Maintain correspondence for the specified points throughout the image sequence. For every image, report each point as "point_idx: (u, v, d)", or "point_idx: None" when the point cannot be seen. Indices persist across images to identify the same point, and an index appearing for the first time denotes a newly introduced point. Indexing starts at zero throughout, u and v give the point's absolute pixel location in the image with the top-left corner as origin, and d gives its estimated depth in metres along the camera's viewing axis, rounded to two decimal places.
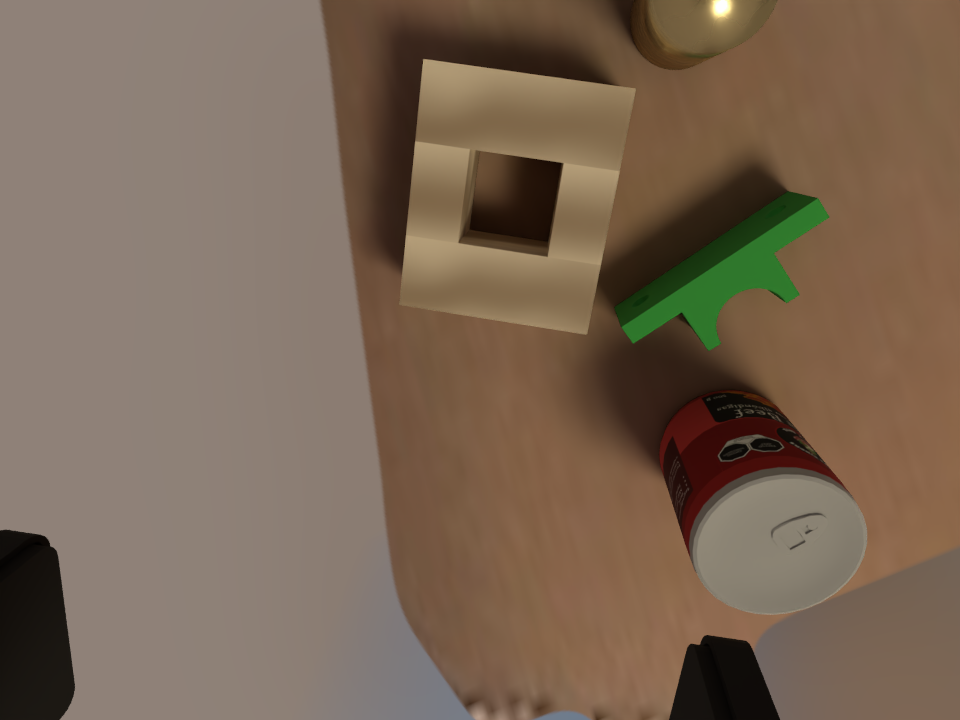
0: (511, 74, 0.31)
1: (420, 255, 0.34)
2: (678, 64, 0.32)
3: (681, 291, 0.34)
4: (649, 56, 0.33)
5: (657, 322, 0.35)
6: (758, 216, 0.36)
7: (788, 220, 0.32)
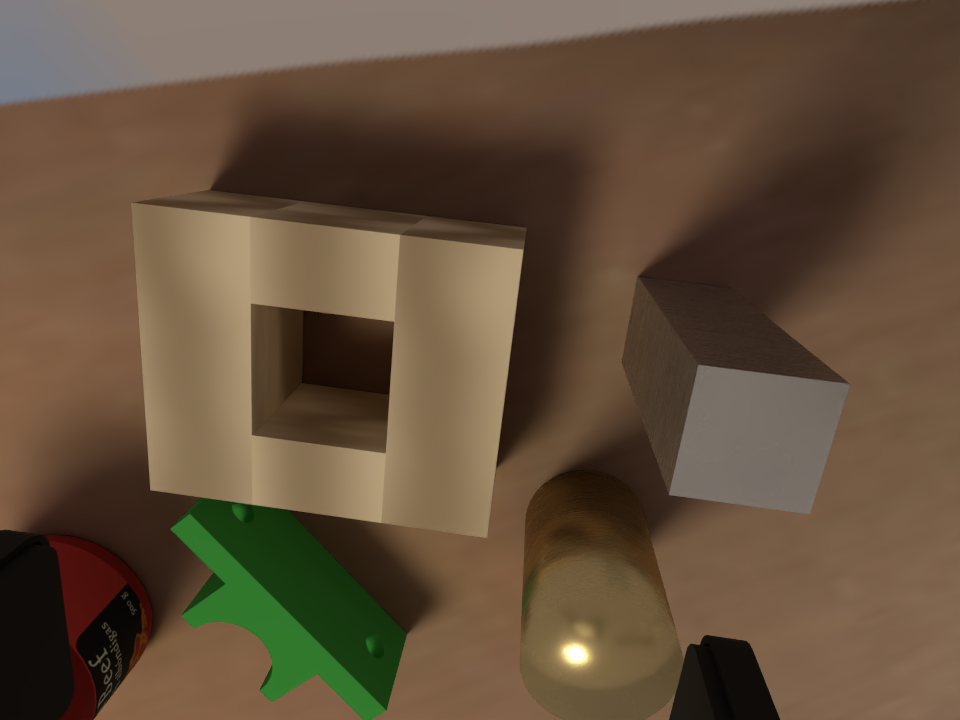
0: (502, 381, 0.21)
1: (221, 241, 0.20)
2: (524, 553, 0.26)
3: (252, 581, 0.25)
4: (537, 506, 0.27)
5: (205, 556, 0.25)
6: (372, 618, 0.29)
7: (357, 684, 0.26)
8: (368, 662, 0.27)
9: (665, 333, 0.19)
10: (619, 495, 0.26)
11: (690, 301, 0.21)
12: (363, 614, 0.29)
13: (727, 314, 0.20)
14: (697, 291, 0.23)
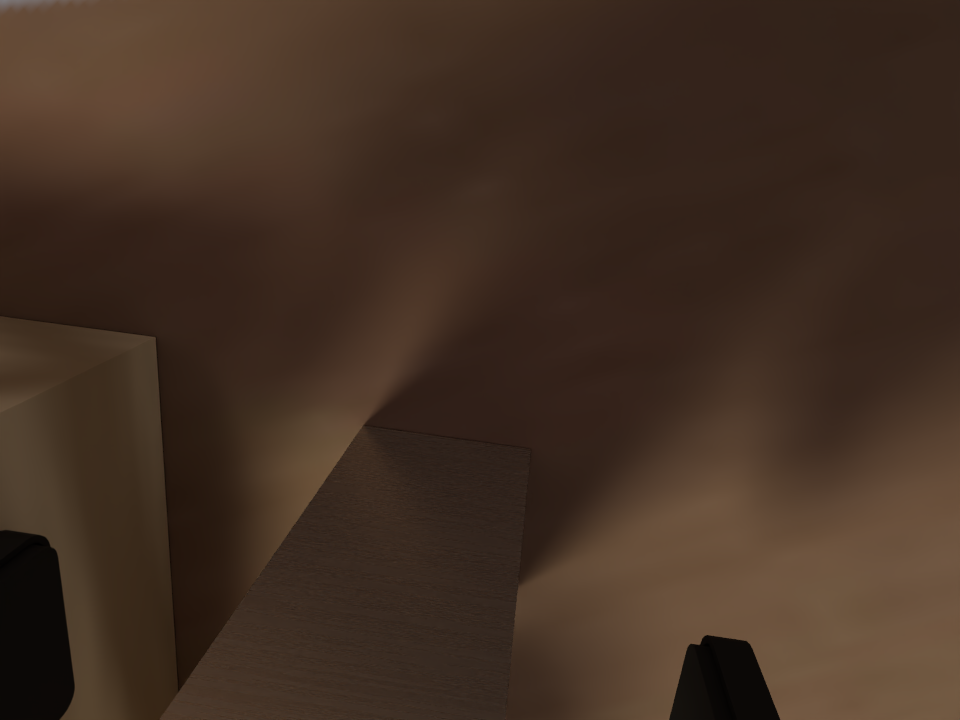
0: None
1: None
2: None
3: None
4: None
5: None
6: None
7: None
8: None
9: None
10: None
11: (383, 522, 0.10)
12: None
13: (422, 581, 0.09)
14: (443, 472, 0.12)
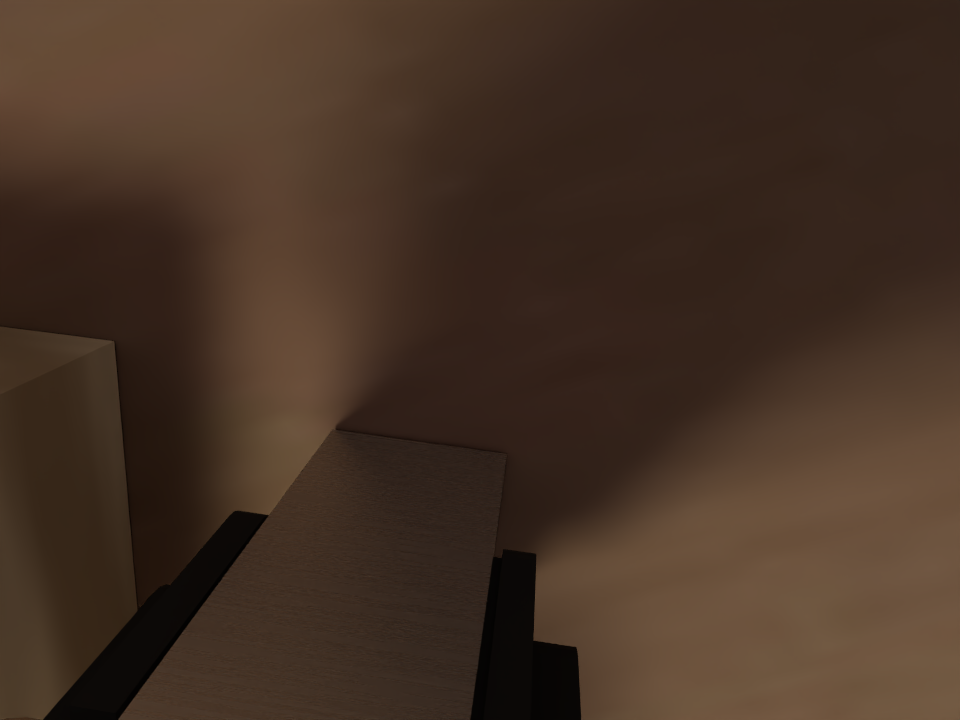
0: None
1: None
2: None
3: None
4: None
5: None
6: None
7: None
8: None
9: None
10: None
11: (347, 535, 0.10)
12: None
13: (384, 600, 0.08)
14: (414, 479, 0.11)
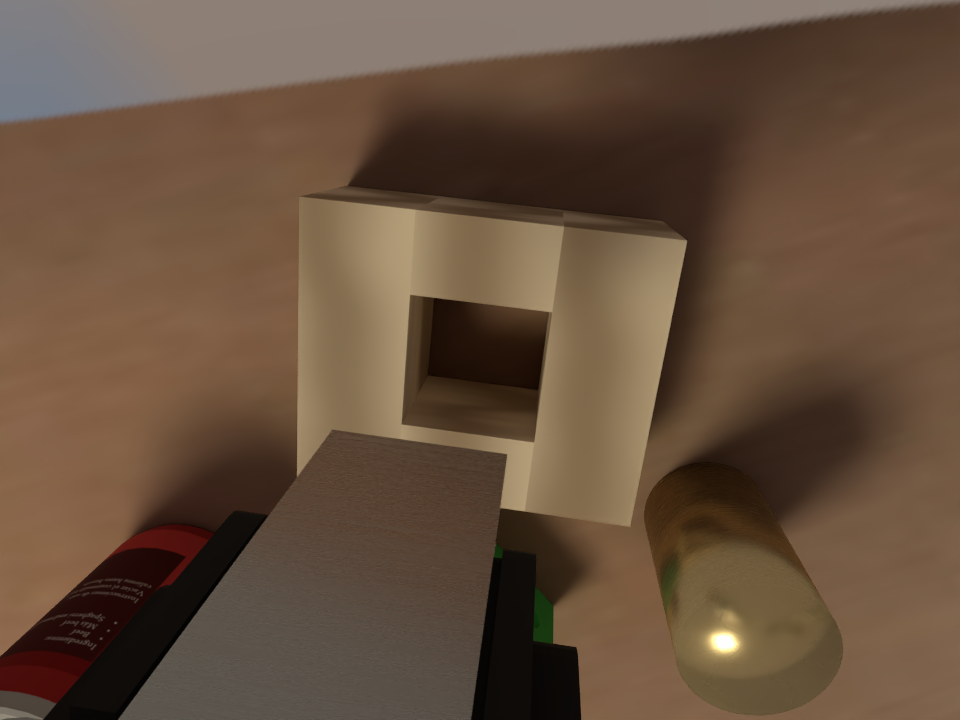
0: (656, 370, 0.21)
1: (385, 234, 0.21)
2: (653, 544, 0.26)
3: None
4: (663, 497, 0.27)
5: None
6: None
7: None
8: None
9: None
10: (747, 487, 0.26)
11: (346, 535, 0.10)
12: None
13: (384, 601, 0.08)
14: (414, 480, 0.11)
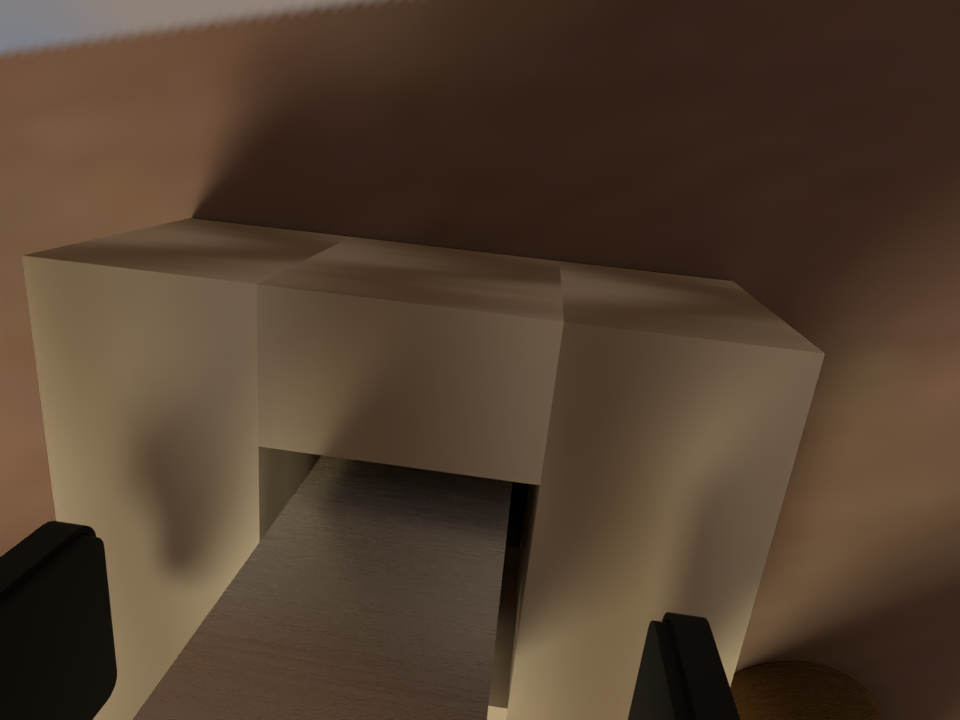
0: (746, 596, 0.11)
1: (200, 330, 0.10)
2: None
3: None
4: None
5: None
6: None
7: None
8: None
9: None
10: (868, 719, 0.16)
11: None
12: None
13: (436, 483, 0.11)
14: None
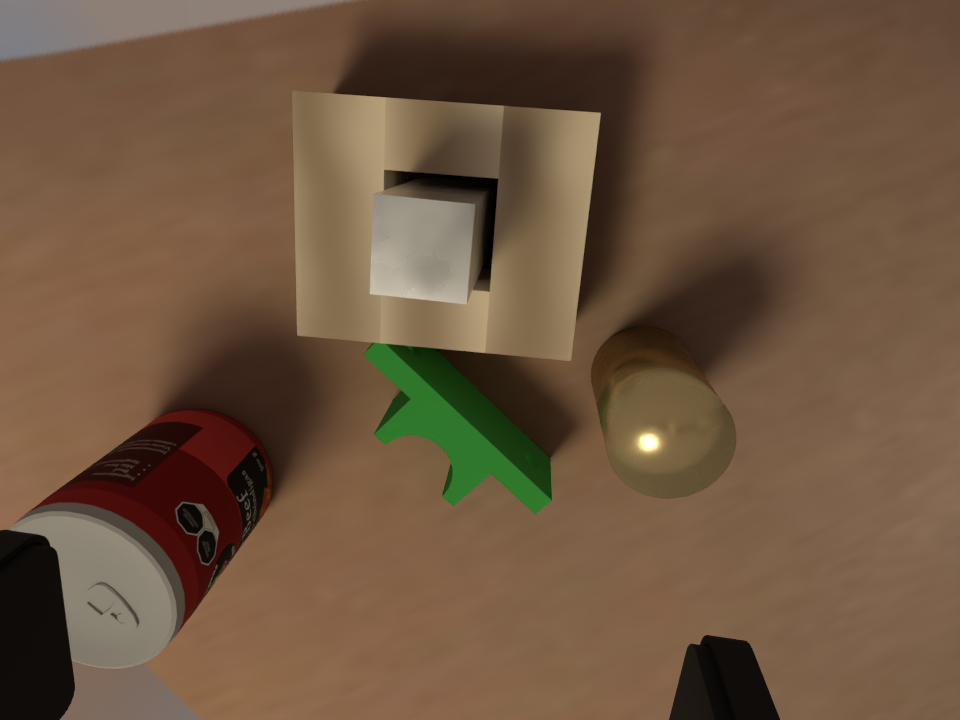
0: (583, 224, 0.27)
1: (362, 119, 0.26)
2: (595, 388, 0.31)
3: (433, 394, 0.30)
4: (603, 354, 0.32)
5: (393, 376, 0.30)
6: (522, 440, 0.34)
7: (526, 479, 0.31)
8: (529, 466, 0.32)
9: None
10: (672, 340, 0.31)
11: (439, 184, 0.28)
12: (515, 436, 0.34)
13: (456, 188, 0.27)
14: (459, 183, 0.30)
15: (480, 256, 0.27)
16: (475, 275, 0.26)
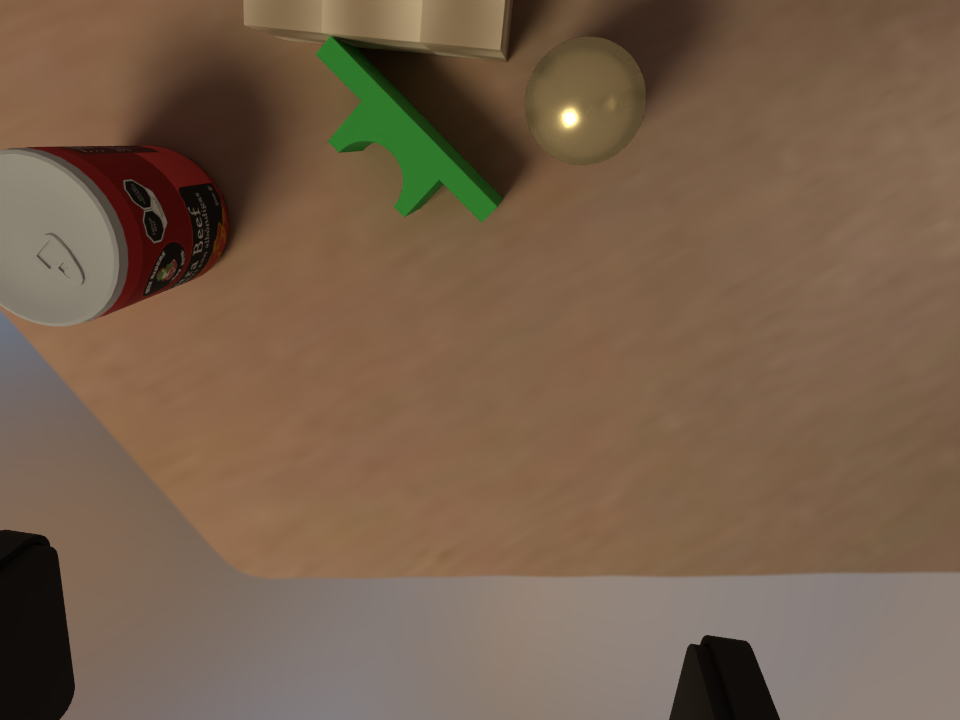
0: None
1: None
2: None
3: (382, 94, 0.32)
4: None
5: (344, 76, 0.32)
6: (474, 172, 0.36)
7: (472, 184, 0.33)
8: (477, 182, 0.34)
9: None
10: None
11: None
12: (467, 165, 0.35)
13: None
14: None
15: None
16: None
